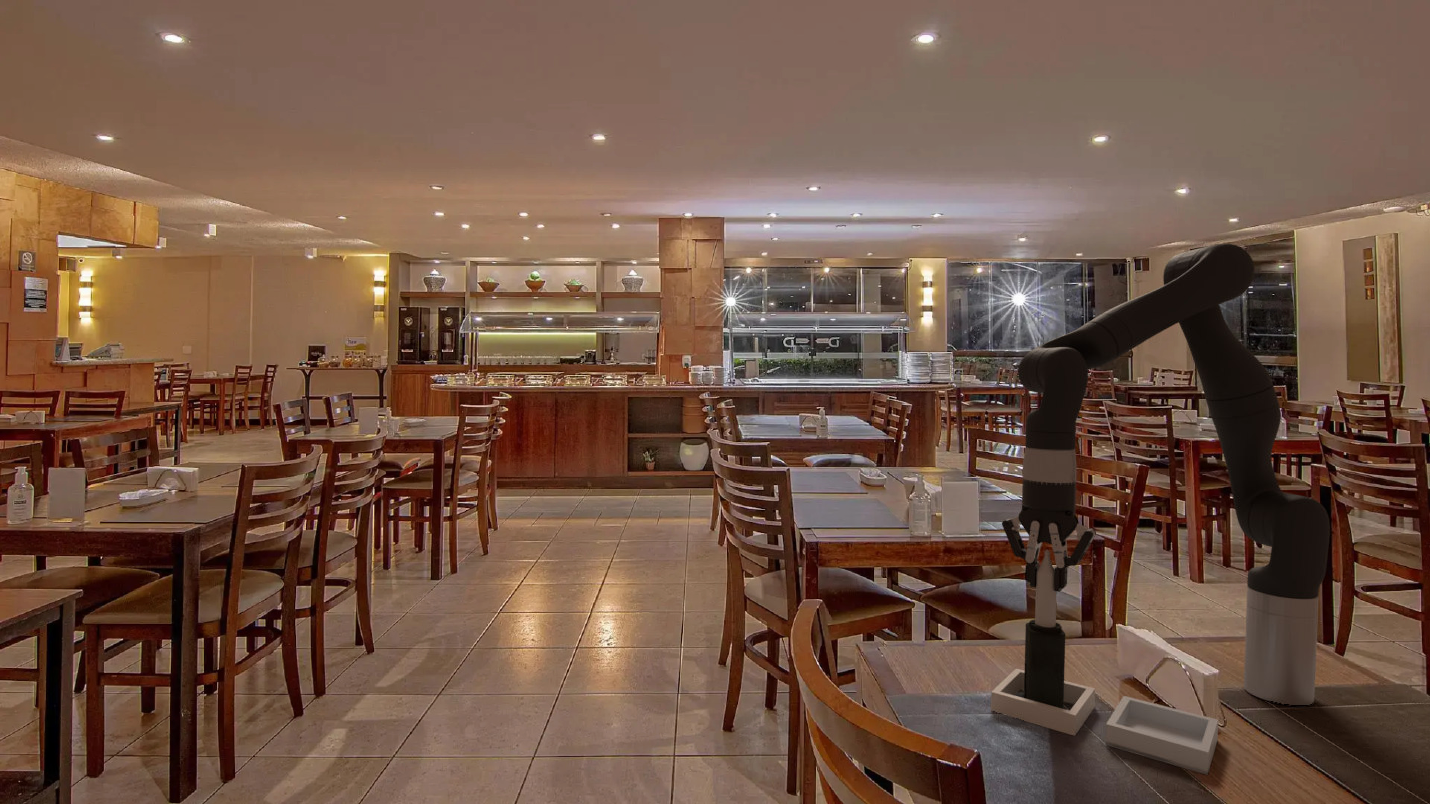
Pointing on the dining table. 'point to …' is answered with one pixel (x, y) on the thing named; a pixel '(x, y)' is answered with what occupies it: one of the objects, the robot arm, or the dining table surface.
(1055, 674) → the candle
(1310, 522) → the robot arm
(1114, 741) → the grey tray
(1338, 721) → the dining table surface
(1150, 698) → the dining table surface
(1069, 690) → the grey frame
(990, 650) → the dining table surface
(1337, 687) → the dining table surface
